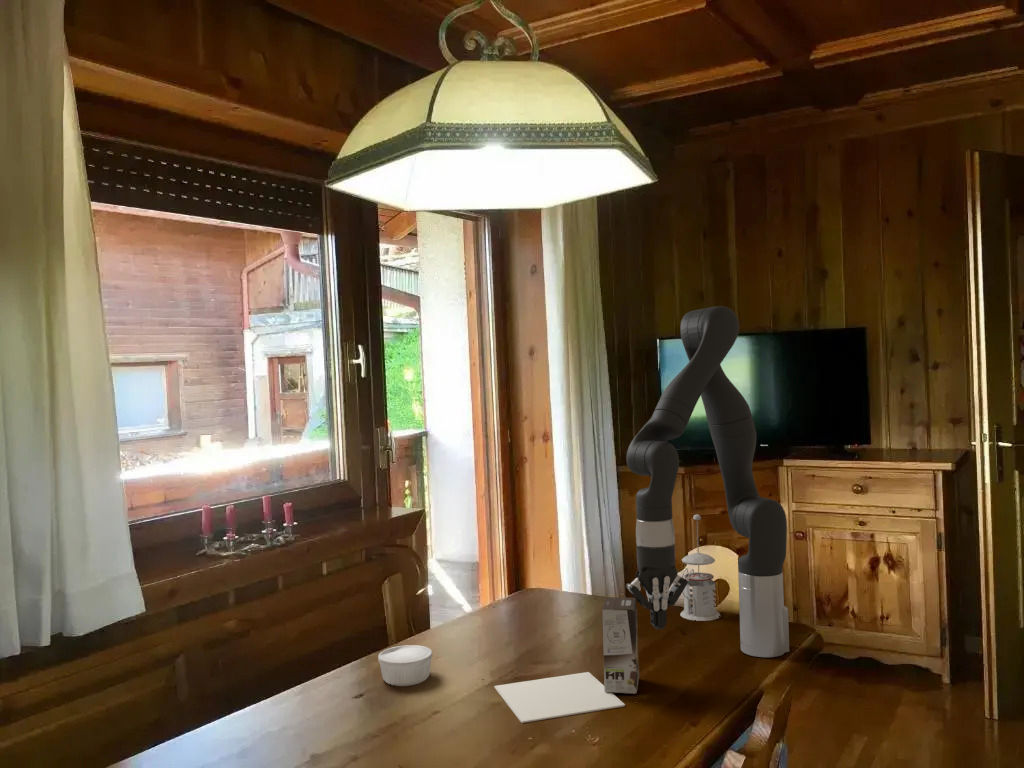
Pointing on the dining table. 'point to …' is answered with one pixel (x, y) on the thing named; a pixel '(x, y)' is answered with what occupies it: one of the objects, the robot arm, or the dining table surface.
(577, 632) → the dining table surface
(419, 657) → the ramekin
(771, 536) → the robot arm
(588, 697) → the mat
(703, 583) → the french press
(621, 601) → the coffee box
